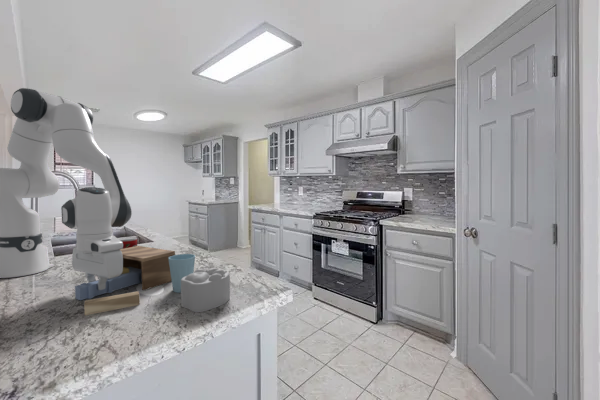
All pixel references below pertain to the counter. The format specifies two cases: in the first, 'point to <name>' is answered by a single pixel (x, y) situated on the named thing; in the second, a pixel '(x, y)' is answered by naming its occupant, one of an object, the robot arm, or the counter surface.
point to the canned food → (128, 242)
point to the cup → (180, 269)
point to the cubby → (149, 264)
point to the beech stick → (111, 303)
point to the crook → (109, 284)
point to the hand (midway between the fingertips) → (96, 288)
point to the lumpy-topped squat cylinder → (205, 289)
